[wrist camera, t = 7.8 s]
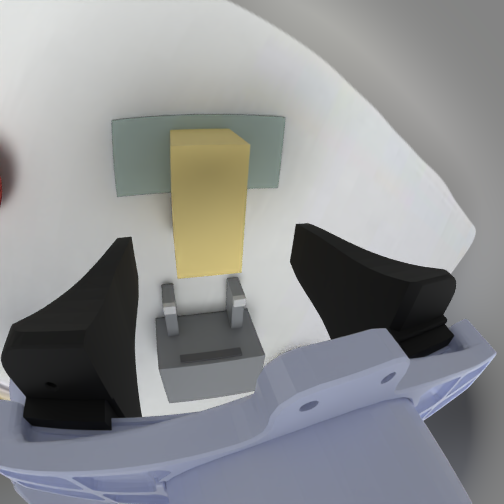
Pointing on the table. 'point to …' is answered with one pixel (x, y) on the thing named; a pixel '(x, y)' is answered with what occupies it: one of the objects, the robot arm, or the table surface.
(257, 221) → the table surface
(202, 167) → the tall tan block
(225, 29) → the table surface
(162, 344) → the grey boxy piece
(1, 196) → the onion
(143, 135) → the mat
